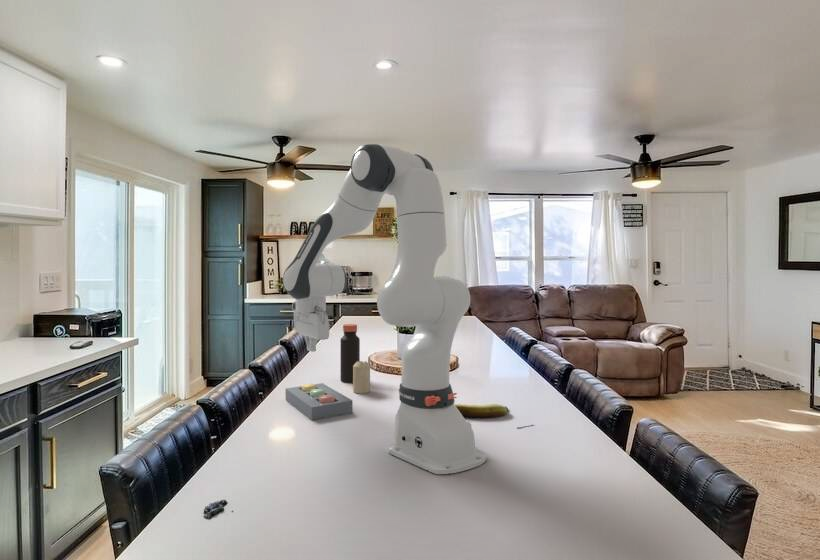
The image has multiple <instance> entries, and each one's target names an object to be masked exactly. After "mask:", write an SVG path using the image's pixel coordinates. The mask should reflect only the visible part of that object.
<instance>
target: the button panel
mask: <svg viewBox="0 0 820 560" xmlns="http://www.w3.org/2000/svg"><path fill="white" fill-rule="evenodd" d="M314 384H315V385H316V389H323V390H325V395H334V402H330V403H324V404H321V403H320V402H319V397H320V396H319V397H313V398H312V397H311V396H310V391H306V392H304V391H302V385H301V386H294V387H293V386H292V387H286V388H285V401H286V402H288V403H289V404H290V405H291V406H293V407H294V408H295V409H297V410H298V411H299V412H300V413H301V414H303V415H304V416H305V417H307V418H308V419H310V420H311V421H315V420H320V419H326V418H331V417H336V416H342V415H347V414H352V413H353V399H351V398H350V397H347V396H345V395H344V394H342V393H340V392H339V391H337V390H335V389H333V388H332V387H330V386H328V385H326V384H325V383H323V382H320V383H314Z"/></svg>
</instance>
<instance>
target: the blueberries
mask: <svg viewBox="0 0 820 560" xmlns="http://www.w3.org/2000/svg"><path fill="white" fill-rule="evenodd" d="M227 504H229V502H228V501H227V499H222V500H221V499H220V500H217V501H213V502H211V503H209V504H208V505H206V506H205V507H204V509H203V516H202V518H204V519H206V520H211V519H212V518H213V517H215V516H217V515H219V514H220V513H222V512H225V506H227ZM231 512H233V510H231Z"/></svg>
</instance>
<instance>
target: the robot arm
mask: <svg viewBox="0 0 820 560" xmlns="http://www.w3.org/2000/svg"><path fill="white" fill-rule="evenodd" d="M385 194H387V195H390V196H393V197H394V199H395V204H396V226H397V253H396V259H395V264H394V266H393V270H392V272H391V274H390V275H389V278H388V279H387V280H386V282H385V283H384V284H383V285H382V286H381V287H380V289H379V290H378V293H377V299H376V305H377V310H378V313H379V315H380V317H381V318H382V320H383V321H384V322H385V323H386V324H388V325H391V326H395V327H405V328H412V327H415V329H414V332H413V335H412V336H411V339H410V340H409V341H408V342H407V343H406V344H405V345H404V347H403V349H402V352H401V382H400V383H399V388H398V389H399V390H398V393H399V396H398V397H399V401H400V405H399V407H398V409H397V412H396V414H395V419H394V429H393V430H394V431H393V441H392V444H391V445H390V446H389V449H388V453H389V454H390V455H393V456H395V457H396V458H398V459H401V460H403V461H405V462H408V463H410V464H411V465H415V466H417V467H419V468H421V469H423V470H425V471H427V470H428V471H427V472H430V473H432V474H435V475H449V473H450V474H456V473H461V472H464V471H467V470H471V469H474V468H476V467H479V466H481V465H482V464H484V463H485V462H486V461H487V454H486V453H485V452H483V450H481V449H479V448H478V447H476V441H475V434H474V429H473V428H472V424H471V422H470V421H469V420H466V418H464V417H463V416H462V414H461V413H460V411H459V410H458V409H457V407H456V406H455V405H456V404H455V403H456V402H455V401H456V400H455V399H457V398H458V397H457V396H456V395H457V394H458V393H457V392H454V391H453V387H452V385H451V383H450V370H451V369H450V368H451V367H450V365H451V352H452V345H453V342H454V339H455V338H454V337H455V335H456V332H457V330H458V329H457V328H458V326H459V324H460V321H461V319H462V318H463V316H464V315H465V314H466V313H467V311H468V310H469V308H470V305H471V294H470V290H469V287H468V286H467V285H466V284H465V283H464V282H463V281H461V280H459V279H457V278H453V277H451V276H450V277H449V276H446V275H445V276H442V275H440V276H438V275H437V276H435V269H436V265H437V262H438V260H439V258H440V257H441V256H442V255H444V253H445V251H446V250H447V235H446V233H447V232H446V231H447V230H446V216H445V206H444V205H445V204H444V198H443V192H442V187H441V184H440V179H439V177H438V175H437V173H435V172H434V168H433V165H432V164H431V163H430V161H429V160H428V159H426V158H425V157H423V156H421V155H419V154H415V153H412V152H410V151H406V150H403V149H401V148H398V147H397V148H396V147H394V146H393V147H392V146H387V145H386V146H385V145H384V146H383V145H380V144H377V143H374V144H373V143H370V144H369V143H368V144H363V145H361V146H359V147H358V148H357V149H356V151H355V152H354V153H353V155H352V158H351V162H350V169H349V171H348V172H347V174H346V176H345V178H344V180H343V182H342V184H341V186H340V189H339V191H338V194H337V196H336V199H334V200H333V202H332V204H331V205H330V206H329V208H327V210H325V212H323V213H322V214H320V215H319V216H318V217H317V218H316V220H315V221H314V222H313V224H312V225H311V227H310V229H309V231H308V233H307V234H306V236H305V238H304V240H303V242H302V244H301V246H300V247H299V249H298V251H297V253H296V255H295V257H294V258H293V260H292V261H291V262H290V263H289V265H288V266H287V268H285V270H284V272H283V276H282V286H283V288H284V290H285V293H287V294H288V295H289V296H290V297H292V299H295V301H293V302H292V305H291V310H292V311H293V326H294V331H295V333H297V334H300V335H303V336H304V340H305V343H306V350H307V351H309V352H311V353H313V352H316V351H317V344H318V341H321V340H322V341H324V340H329V338H330V321H329V316H328V314H327V313H326V311H327V305H326V303H327V302H326V300H327V297H333V296H334V297H335V296H338V295H341V294H342V293H343V292H344V290H346V286H347V282H348V279H347V277H348V276H347V272H346V270H345V268H344V267H343V266H342V265H341V264H338V263H335V262H333V261H331V260H328V258H326V257H325V254H324V253H323V251H324V250H325V248H326V247H327V246H328V245H329V244H331V243H332V242H334V241H336V240H338V239H341V238H344V237H347V236H351V235H355V234H358V233H360V232H363V231H364V230H366V229H367V228H368V227H369V226H370V225H371V223H372V222H373V220H374V219H375V216H376V214H377V211H378V209H379V206H380V204H381V202H382V198H383V197H384V196H385Z"/></svg>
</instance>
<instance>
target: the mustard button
mask: <svg viewBox="0 0 820 560" xmlns="http://www.w3.org/2000/svg"><path fill="white" fill-rule="evenodd" d="M315 384H316V383H305V384H301V386H302V391H304V392H306V391H311V390H314V389H316V385H315Z"/></svg>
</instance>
